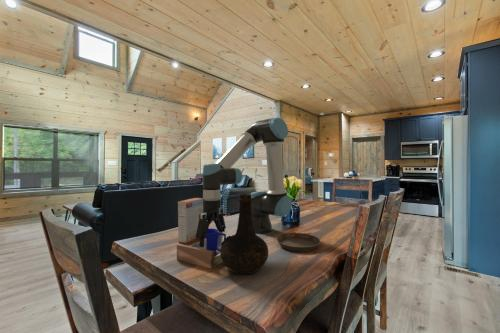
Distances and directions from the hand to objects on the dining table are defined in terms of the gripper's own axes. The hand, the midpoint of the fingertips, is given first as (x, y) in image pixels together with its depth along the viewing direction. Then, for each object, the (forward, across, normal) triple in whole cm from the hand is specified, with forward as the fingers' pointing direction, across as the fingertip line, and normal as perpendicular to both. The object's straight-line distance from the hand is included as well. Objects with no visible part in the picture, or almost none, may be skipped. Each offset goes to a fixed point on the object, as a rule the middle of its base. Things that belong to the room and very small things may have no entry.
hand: (211, 250), depth 104 cm
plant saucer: (+2, -30, +29) cm, 42 cm away
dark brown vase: (+2, +6, +20) cm, 21 cm away
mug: (+2, -1, 0) cm, 2 cm away
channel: (+2, +3, 0) cm, 4 cm away
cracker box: (+2, -12, -23) cm, 26 cm away
